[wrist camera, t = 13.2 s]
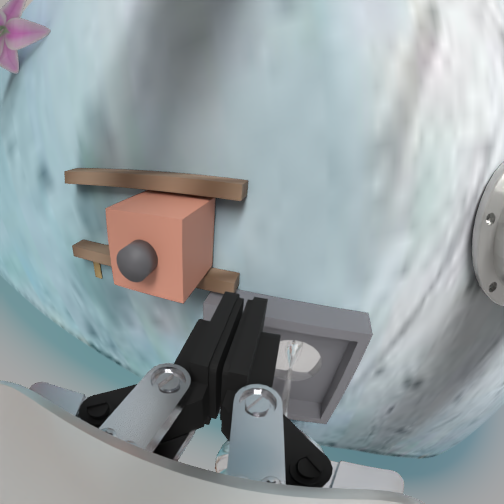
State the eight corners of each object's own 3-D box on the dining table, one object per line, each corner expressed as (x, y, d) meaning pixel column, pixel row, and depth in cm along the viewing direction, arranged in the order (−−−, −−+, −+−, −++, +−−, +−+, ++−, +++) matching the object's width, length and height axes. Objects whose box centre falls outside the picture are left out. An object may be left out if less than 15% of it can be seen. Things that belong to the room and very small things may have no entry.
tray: (368, 313, 19) (372, 334, 17) (327, 403, 24) (326, 423, 22) (215, 284, 21) (203, 302, 19) (213, 381, 26) (205, 399, 24)
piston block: (215, 196, 18) (170, 227, 12) (212, 265, 20) (174, 315, 14) (150, 189, 19) (91, 214, 13) (151, 252, 21) (103, 293, 15)
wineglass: (268, 318, 20) (221, 468, 10) (348, 348, 20) (349, 494, 9) (240, 371, 23) (196, 490, 13) (309, 395, 23) (292, 514, 12)
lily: (1, 85, 19) (-45, 114, 12) (-11, 15, 10) (-60, 29, 3) (71, 47, 19) (26, 62, 13) (62, -32, 11) (17, -39, 4)
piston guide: (248, 180, 17) (242, 184, 16) (236, 313, 22) (231, 324, 20) (76, 168, 20) (64, 171, 18) (88, 273, 24) (79, 280, 22)
